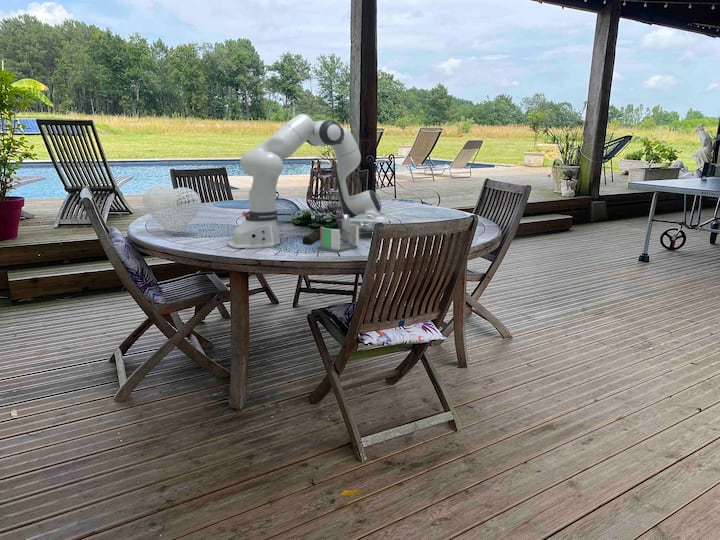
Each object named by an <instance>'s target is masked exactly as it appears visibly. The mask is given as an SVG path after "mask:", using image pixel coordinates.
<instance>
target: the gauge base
mask: <svg viewBox="0 0 720 540" xmlns="http://www.w3.org/2000/svg"><path fill="white" fill-rule="evenodd" d="M319 228H320V245H317V246H316V249H317V250H322V251H326V252H330V251H331V252H330V253H337V254H338V253H341V252H346V251H349V250H354V249H357V248H358V245H354V244H350V243H349V242H342V240H341V229H338V228H336V229H335V228H329V227H328V228H327V227H324V226H320V227H319ZM353 248H354V249H353Z"/></svg>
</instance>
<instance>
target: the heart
mask: <svg viewBox="0 0 720 540" xmlns="http://www.w3.org/2000/svg"><path fill="white" fill-rule="evenodd" d="M142 202H143V206H144V208H145V210H146V211H147V213H148V214H149V215H150V216H151V217H152V218H153V219H154V220H155V221H157V223H159V225H161V227H163V229H164V230H166V232H168V231H170V232H171V231H173V232H174V230H175V231H176V232H180V231H181V232H182V231H183V230H184V228H186V226H187V225H188V224H189V223H190V222H191V221H192V220H193V219H194V218H195V216H196V215H197V214H198V211H199V210H200V207H201V199H200V197H199V194H198V193H197V192H196V191H195V190H193V189H191V188H189V187H184V186H183V187H177V188H173V189H172V188H170V187H168V186H164V185H154V186H152V187H150V188H148V189H147V190H146V191H145V192H144V194H143V198H142ZM159 205H160V206H159ZM177 230H178V231H177ZM181 232H180V233H181Z"/></svg>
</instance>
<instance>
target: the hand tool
mask: <svg viewBox="0 0 720 540" xmlns="http://www.w3.org/2000/svg"><path fill="white" fill-rule="evenodd" d="M316 240H321V238H320V227H317V228H315V229H314V232H312V233H310V234H307V235H306V236H303V237H302V244H303V245H304V244H310V245H311V244H312V243H313V242H316Z"/></svg>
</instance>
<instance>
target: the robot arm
mask: <svg viewBox="0 0 720 540" xmlns="http://www.w3.org/2000/svg"><path fill="white" fill-rule="evenodd" d="M305 142H306V143H307V144H309V145H310V146H313V147H317V146H318V147H327V146H330V147H331V148H332V150H333V152H334V154H335V157H336V162H337V164H336V166H335V168H334V176H335V180H336V181H335V182H336V185H337V191H338V194H339V198H340V204H341V205H340V206H341V211H342V213H343V214H348V215H349V224H355V225H359V229H363V230H365V231H367V232H371V231H374V230H373V228H374V225H375V224H376V223H383V224H389V225H390V217H389V215H387V214H383V212H382V211H381V209H382V203H381V200H380V197H379V195H378V194H377V193H376V191H374V190H371V189H369V190H364V191H363V192H362V191H361V192H360V193H357V194H354V195H349V190H348V185H347V180H346V179H347V178H348V176H349V175H350V174H351V173H352V172H354V171H355V170H356V169H357V168H358V166H359V165H360V163H361V161H362V155H361V151H360V148H359V146H358V144H357V141H356V139H355V137H354V136H353V134H352V132H351V130H349V129H348V128H347V127H344V126H341V124H339V123H338V122H337V121H334V120H331V119H327V120H324V119H323V120H316V121H314V120H313V119H312V118H311V117H310V116H309V115H307V114H305V113H300V114H298V115H296V116H295V117H293V118H291V119H290V120H289V121H288V122H286V123H284V124H283V125H282V126H281V127H280V129H278V130H277V131H276V132H275V133H273V135H271V136H270V137H269V138H266V140H264V141H262V142H261V143H259V144H258V145H256V146H255V147H254V148H253V149H251V150H249V151H247V152H245V153H244V154H242V156H241V158H240V161H239V163H240V168H241V170H242V171H243V172H244V173H245V174H247V175H248V176H250V177H253V178H252V184H251V188H250V189H249V192H248V204H249V207H248V208H249V210H248V211H247V212H246V211H244V210H243V211H242V217H244V218H245V220H244V221H243V222H242V223H240V224H238V226H236V228H235V229H234V230H233V233H232V238H231V239H232V240H227V243H228V245H229V246H231V247H234V248H233V249H235V248H245V249H259V248H260V249H261V248H262V249H263V248H273V247H275V246H277V245H280V244H281V243H282V241H281V239H280V235H279V229H278V210H277V208H276V207H277V203H276V193H277V185H278V182H279V177H280V175H282V173H283V170H284V162H283V161H284V160H286V159H288V158H290V157H291V156H292V155H293V154H295V152H296V151H297V150H298V149H299V148H301V146H302V145H304V144H305ZM359 215H361V217H358V216H359ZM228 245H227V246H228ZM229 246H228V247H229ZM231 247H230V248H231Z"/></svg>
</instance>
